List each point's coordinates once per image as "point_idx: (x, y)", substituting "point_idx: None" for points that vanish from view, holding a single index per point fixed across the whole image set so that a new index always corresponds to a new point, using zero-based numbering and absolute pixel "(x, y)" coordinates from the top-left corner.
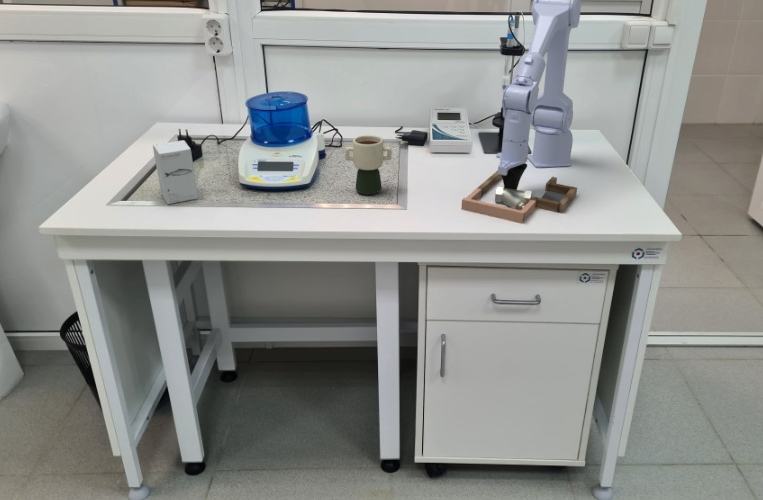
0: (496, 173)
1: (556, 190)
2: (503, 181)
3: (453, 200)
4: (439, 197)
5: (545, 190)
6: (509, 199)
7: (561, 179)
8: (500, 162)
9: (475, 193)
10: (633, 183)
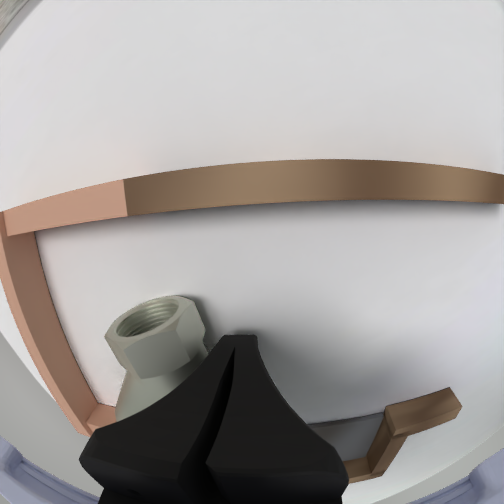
0: (454, 182)
1: (379, 439)
2: (182, 382)
3: (54, 122)
4: (57, 61)
5: (387, 408)
6: (120, 394)
7: (483, 382)
8: (2, 495)
9: (61, 219)
10: (459, 459)
